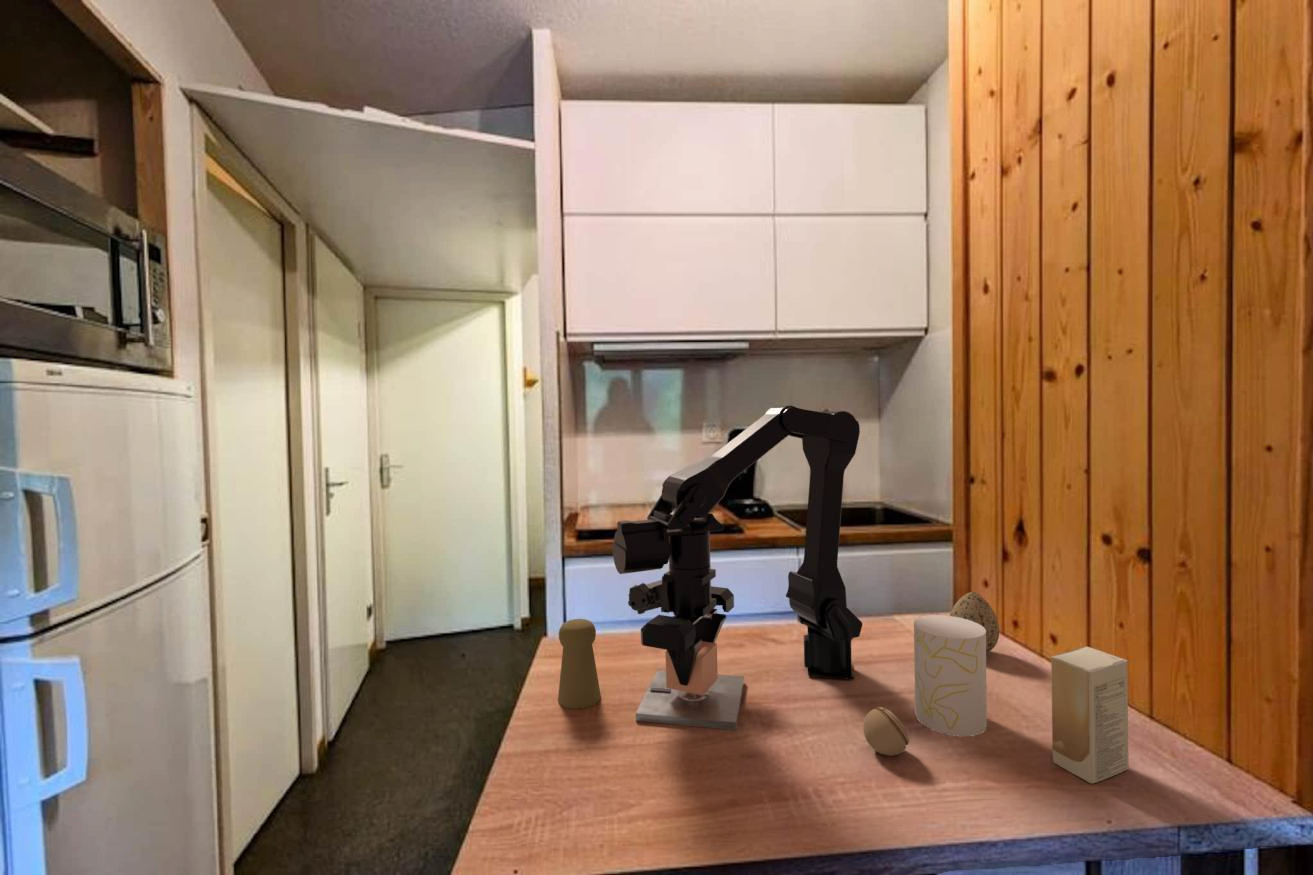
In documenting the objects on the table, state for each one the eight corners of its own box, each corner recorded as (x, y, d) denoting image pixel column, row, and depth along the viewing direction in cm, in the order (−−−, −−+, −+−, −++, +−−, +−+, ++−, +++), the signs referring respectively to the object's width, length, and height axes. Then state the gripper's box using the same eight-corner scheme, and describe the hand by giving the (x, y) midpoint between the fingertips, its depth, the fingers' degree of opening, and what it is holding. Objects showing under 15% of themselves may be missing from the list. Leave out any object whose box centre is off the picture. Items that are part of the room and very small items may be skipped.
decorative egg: (1003, 651, 93) (1003, 590, 93) (994, 666, 88) (994, 602, 87) (955, 641, 98) (954, 583, 97) (943, 655, 92) (943, 593, 92)
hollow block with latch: (717, 678, 81) (716, 641, 81) (703, 695, 76) (702, 656, 76) (682, 671, 83) (681, 635, 83) (666, 687, 79) (665, 649, 78)
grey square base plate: (744, 682, 85) (743, 656, 85) (735, 730, 72) (735, 698, 72) (658, 676, 88) (657, 650, 88) (635, 720, 75) (634, 690, 75)
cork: (593, 710, 78) (590, 630, 78) (551, 707, 79) (548, 628, 79) (606, 689, 84) (603, 615, 84) (566, 686, 85) (564, 613, 85)
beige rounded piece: (906, 769, 63) (905, 725, 63) (859, 757, 66) (858, 714, 66) (912, 747, 68) (912, 705, 67) (868, 736, 70) (867, 695, 70)
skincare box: (1088, 749, 66) (1088, 644, 66) (1130, 771, 62) (1130, 659, 62) (1049, 762, 64) (1048, 654, 63) (1090, 785, 60) (1090, 670, 59)
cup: (905, 721, 73) (904, 628, 73) (927, 697, 79) (926, 610, 79) (976, 744, 68) (975, 643, 67) (994, 716, 74) (993, 624, 73)
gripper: (667, 545, 91) (670, 642, 92) (603, 576, 75) (607, 694, 75) (733, 551, 86) (736, 654, 87) (681, 585, 70) (684, 712, 70)
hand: (692, 675), depth 80 cm, fingers closed on hollow block with latch, 5 cm apart
